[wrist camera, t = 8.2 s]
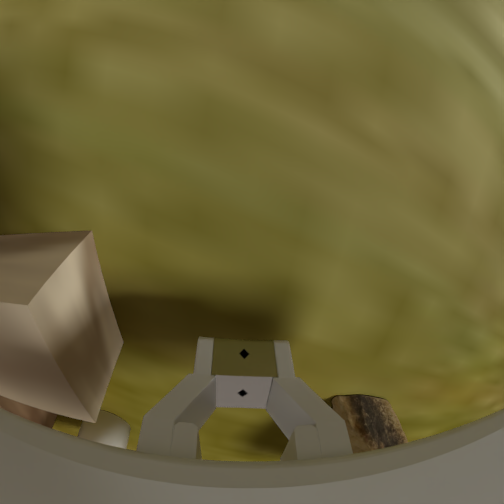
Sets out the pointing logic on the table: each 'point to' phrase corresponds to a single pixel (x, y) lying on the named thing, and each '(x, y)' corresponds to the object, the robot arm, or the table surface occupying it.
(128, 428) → the salt shaker
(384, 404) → the rock
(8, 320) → the maple block
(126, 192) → the table surface
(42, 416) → the brown wooden bar
